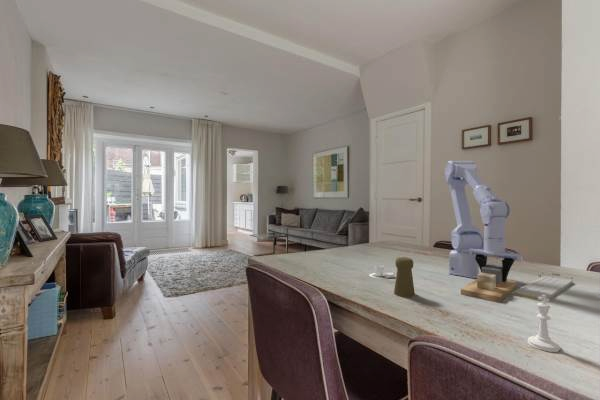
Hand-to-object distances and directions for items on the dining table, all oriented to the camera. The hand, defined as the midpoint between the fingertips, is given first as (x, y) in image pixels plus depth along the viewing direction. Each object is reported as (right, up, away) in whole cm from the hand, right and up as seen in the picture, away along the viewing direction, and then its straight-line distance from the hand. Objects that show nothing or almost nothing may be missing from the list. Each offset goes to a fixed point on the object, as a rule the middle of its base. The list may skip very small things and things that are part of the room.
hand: (494, 279), depth 96 cm
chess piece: (-16, -3, -38) cm, 41 cm away
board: (-4, -2, -3) cm, 5 cm away
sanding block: (0, -1, 0) cm, 1 cm away
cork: (-32, -3, -7) cm, 33 cm away
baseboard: (+15, -3, -1) cm, 15 cm away
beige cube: (-6, -1, -6) cm, 9 cm away
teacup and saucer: (-34, -3, +11) cm, 35 cm away
